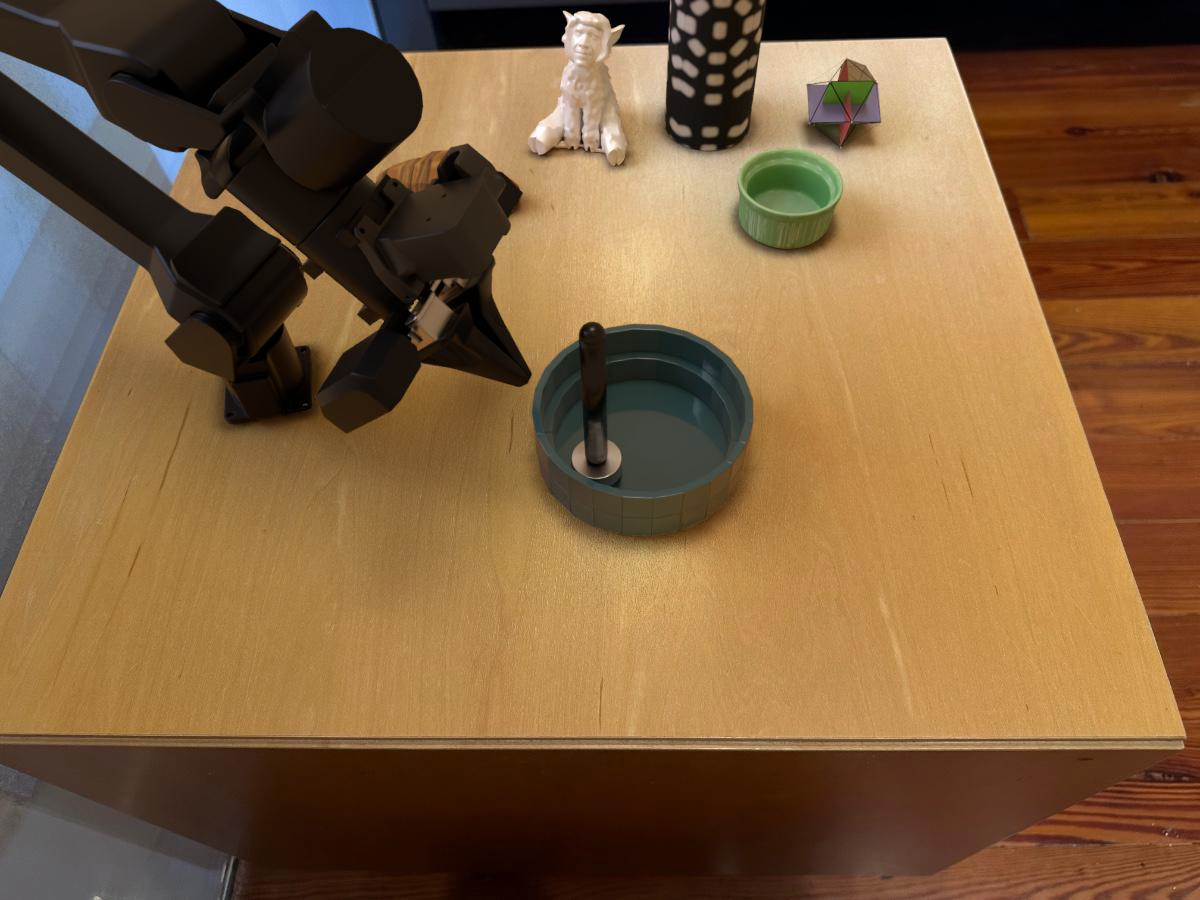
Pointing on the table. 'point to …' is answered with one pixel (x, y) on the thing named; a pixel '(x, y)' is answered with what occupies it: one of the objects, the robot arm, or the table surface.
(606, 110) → the sitting furry creature
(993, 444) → the table surface
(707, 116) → the spotted tube
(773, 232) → the ramekin
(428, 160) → the croissant
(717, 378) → the bowl
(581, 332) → the upright rod on disc
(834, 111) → the geometric puzzle
